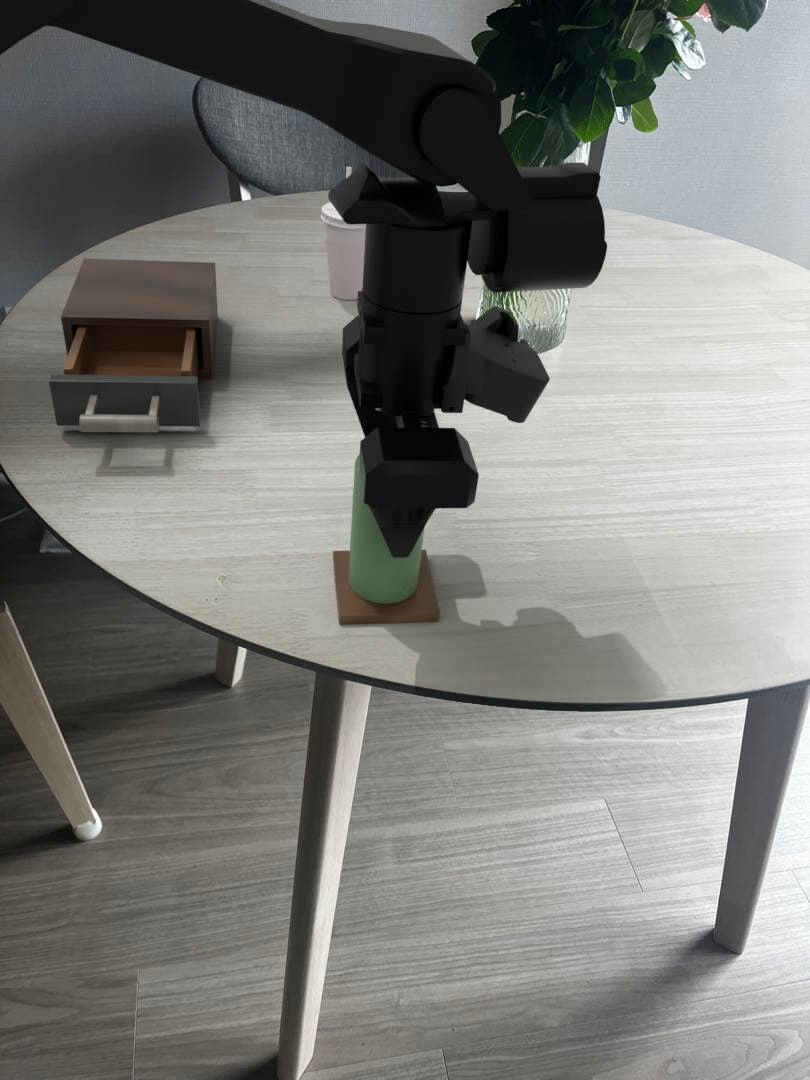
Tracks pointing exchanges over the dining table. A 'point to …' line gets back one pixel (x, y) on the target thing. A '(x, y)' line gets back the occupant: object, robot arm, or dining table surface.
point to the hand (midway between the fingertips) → (392, 512)
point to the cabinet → (146, 299)
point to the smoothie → (344, 252)
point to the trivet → (362, 611)
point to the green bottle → (378, 557)
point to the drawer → (128, 379)
